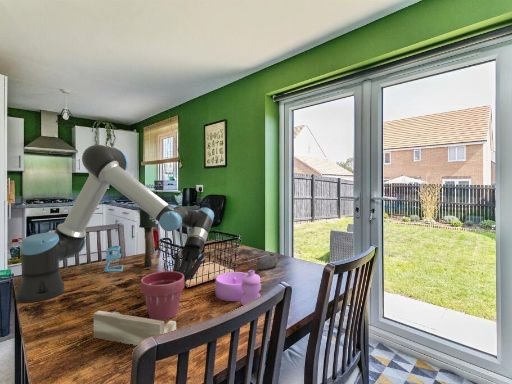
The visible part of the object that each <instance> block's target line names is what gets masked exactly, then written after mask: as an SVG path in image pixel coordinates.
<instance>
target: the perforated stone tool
mask: <svg viewBox="0 0 512 384" xmlns="http://www.w3.org/2000/svg"><path fill="white" fill-rule="evenodd" d="M278 256H279V255H278V253H276V252H272V253H269V254H266V255H264V256H262V257H260V258H259V259H258V261H257V262H256V267H257V269H258V270H262V271H263V270H266V269H267V270H268V269H271V268H274V267H276V266H277V264H278V263H279V260H278Z"/></svg>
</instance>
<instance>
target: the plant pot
mask: <svg viewBox="0 0 512 384" xmlns="http://www.w3.org/2000/svg"><path fill="white" fill-rule="evenodd" d="M184 288H185V286H184V275H183V274H182V273H180V272H175V271H173V270H170V271H169V270H165V271H158V272H153V273H149V274H147V275H145V276H143V277H142V278H141V280H140V292H141V293H142V294H143V296H144V301H145V305H146V309H147V313H148V316H149V319H153V320H159V321H166V320H170V319H171V318H174V317H176V315H177V314H178V309H179V304H180V300H181V295H182V291H183V289H184Z"/></svg>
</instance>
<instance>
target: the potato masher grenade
mask: <svg viewBox="0 0 512 384" xmlns="http://www.w3.org/2000/svg"><path fill="white" fill-rule="evenodd" d="M156 227H157V220H156V219H155V218H153V217H152V216H151V215H149V214H148V213H147V212H146V211H144V210H143V209H142V208H140V209H139V225H138V228H139V229H140V228H142V229H143V230H144V243H145V244H144V252H145V253H144V263H143V265H144V267H145V268H148V267H151V266H152V253H151V252H152V251H151V250H152V249H151V246H152V245H151V241H152V228H156Z"/></svg>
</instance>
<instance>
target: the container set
mask: <svg viewBox="0 0 512 384" xmlns="http://www.w3.org/2000/svg"><path fill="white" fill-rule="evenodd" d="M214 289H215V290H214V291H215V293H214V294H215V296H216V297H217V298H218V299H220V300H221V301H226V302H241V304H242V306H243V305H245V304H247V303H248V302H250V301H252V300H254V299H256V298H258V297H260V296H261V294H260V291H261V289H262V285H261V277H260V276H259V274H257V273H255V270H253V269H250V270H248V272H241V271H228V272H224V273H223V272H221V273H220V274H218V275H217V276H215V288H214Z"/></svg>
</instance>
